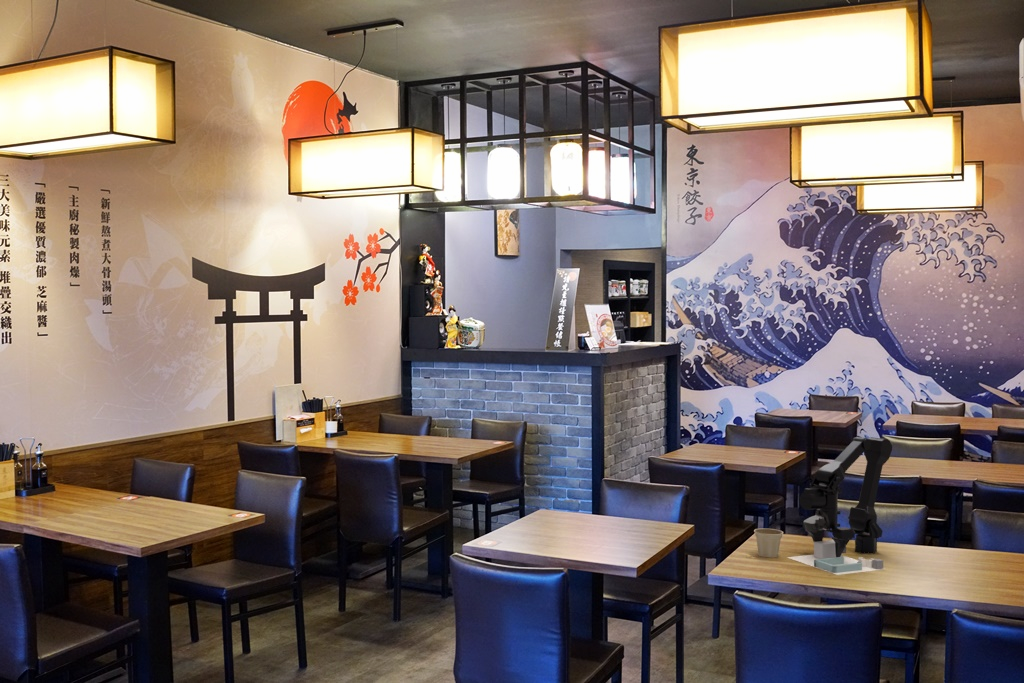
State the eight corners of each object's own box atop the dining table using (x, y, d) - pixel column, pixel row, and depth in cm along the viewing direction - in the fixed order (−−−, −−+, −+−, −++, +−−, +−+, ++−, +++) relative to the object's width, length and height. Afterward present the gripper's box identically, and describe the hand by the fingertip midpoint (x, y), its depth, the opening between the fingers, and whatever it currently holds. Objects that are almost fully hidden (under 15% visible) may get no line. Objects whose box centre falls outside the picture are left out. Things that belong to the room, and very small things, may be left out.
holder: (814, 566, 293) (814, 559, 293) (841, 563, 297) (841, 556, 297) (834, 573, 285) (834, 566, 285) (862, 569, 289) (862, 563, 289)
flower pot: (780, 554, 312) (780, 528, 312) (785, 561, 302) (785, 534, 302) (751, 553, 313) (751, 528, 313) (756, 560, 303) (756, 534, 303)
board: (832, 554, 312) (832, 552, 312) (885, 571, 290) (885, 569, 290) (786, 559, 304) (786, 557, 304) (837, 577, 283) (837, 574, 283)
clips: (866, 563, 297) (866, 556, 297) (878, 567, 292) (878, 560, 292) (855, 564, 295) (855, 557, 295) (866, 568, 290) (866, 561, 290)
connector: (813, 557, 305) (814, 541, 305) (839, 554, 309) (839, 539, 309) (822, 559, 301) (822, 544, 301) (848, 557, 305) (848, 541, 305)
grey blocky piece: (868, 563, 296) (868, 555, 296) (883, 568, 290) (883, 560, 290) (856, 565, 294) (856, 557, 294) (871, 570, 288) (871, 561, 288)
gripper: (789, 504, 310) (789, 550, 310) (828, 514, 293) (828, 563, 293) (816, 501, 314) (816, 547, 314) (856, 511, 297) (855, 560, 297)
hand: (827, 554), depth 304 cm, fingers open, 9 cm apart
